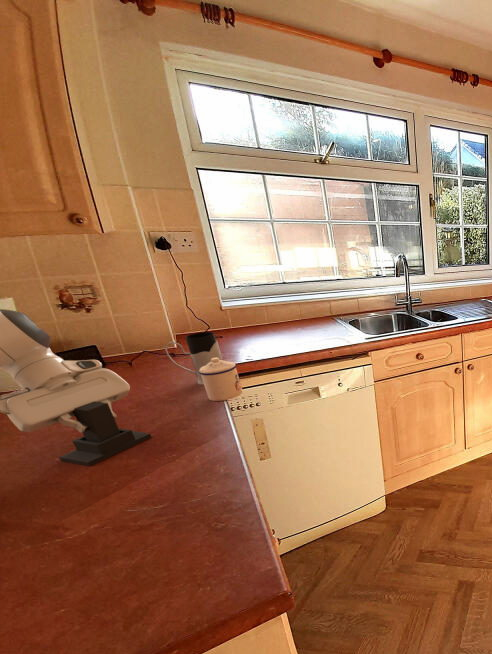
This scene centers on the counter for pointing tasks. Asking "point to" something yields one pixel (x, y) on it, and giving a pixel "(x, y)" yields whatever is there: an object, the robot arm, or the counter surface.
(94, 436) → the dark grey rectangular block
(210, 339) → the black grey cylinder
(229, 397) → the teacup with lid
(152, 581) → the counter surface
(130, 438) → the base pad
